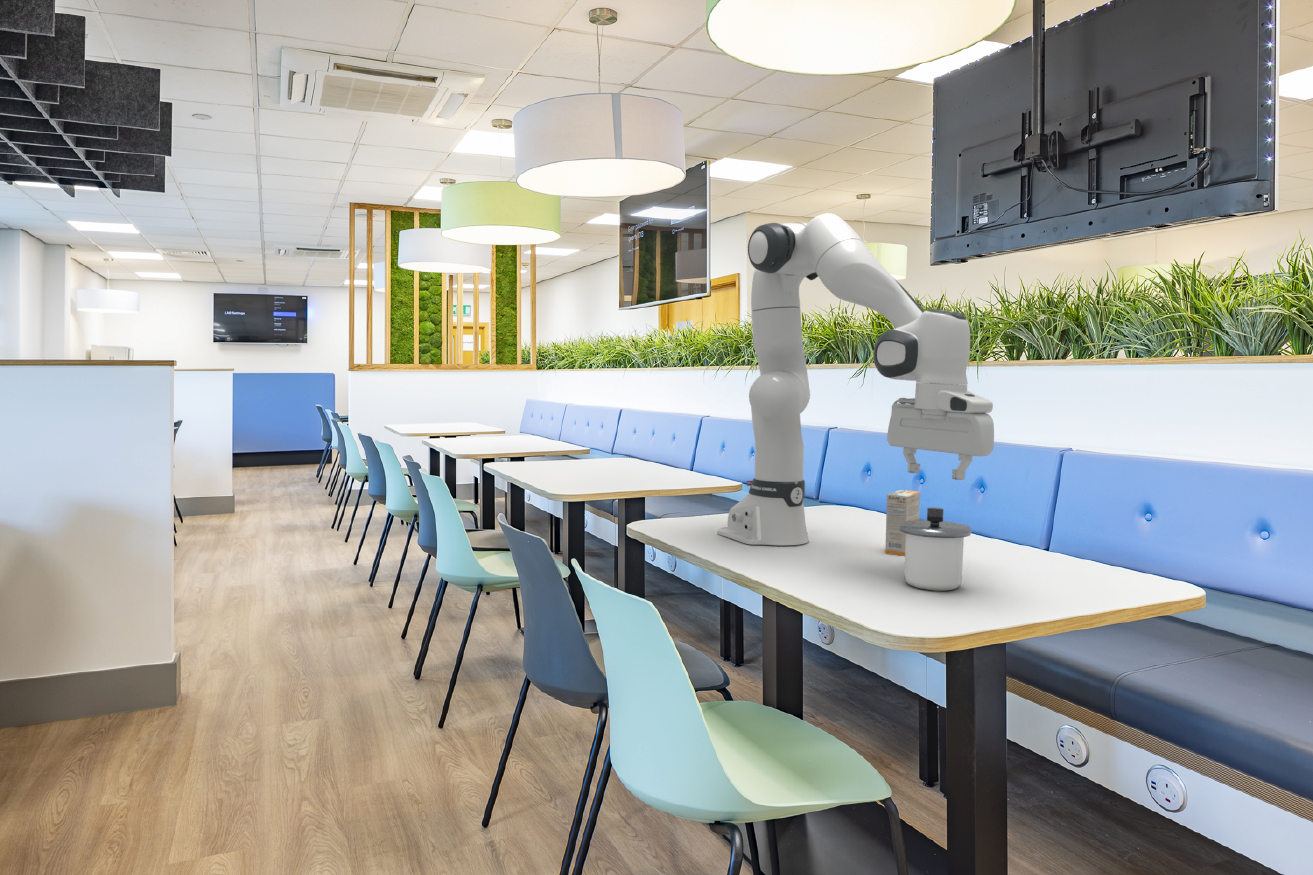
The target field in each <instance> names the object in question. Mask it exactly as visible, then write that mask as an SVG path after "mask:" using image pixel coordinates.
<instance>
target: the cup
mask: <svg viewBox="0 0 1313 875" xmlns="http://www.w3.org/2000/svg"><path fill="white" fill-rule="evenodd" d="M964 538H965V537H962V538H933V537H923V536H916V535H911V534H907V533H906V547H905V556H904V580H905V582H907V584H908V585H910V586H912V587H914V588H917V589H921V590H925V591H927V590H928V591H935V592H936V591H937V592H938V591H939V592H941V591H944V592H946V591H952V590H956V589H958V588H959V587H960V586H961V585H962V582H963V567H964V566H963V564H964V561H963V560H964V544H965V543H964V542H965V541H964Z"/></svg>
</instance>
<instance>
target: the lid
mask: <svg viewBox="0 0 1313 875" xmlns="http://www.w3.org/2000/svg"><path fill="white" fill-rule="evenodd" d="M926 512H927V513H926V519H922V520H921V519H919V520H913V521H904V522H901V523H900V524H899V530H900V531H901V532H904V533H907V534H911V535H916V536H923V537H933V538H962V537H964V538H967V537H970V536H971V534H972V527H970V526H969V525H965V524H962V523H957V522H951V521H944V508H941V507H927V509H926Z"/></svg>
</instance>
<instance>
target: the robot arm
mask: <svg viewBox="0 0 1313 875" xmlns="http://www.w3.org/2000/svg"><path fill="white" fill-rule="evenodd" d="M747 255H748V259H749V262H750V264H751V266H752V267H753V268H754V269H755V270H754V272H753V277H752V281H751V282H752V284H751V293H750V294H751V296H750V297H751V298H750V308H751V324H752V325H751V326H752V342H753V343H752V345H753V348H754V351H755V354H756V359H757V363H758V364H757V365H758V368H759V374H760V376H758V377H757V378H756V379H755V380H754V381H753V383H752V385H751V386H750V388H749V393H748V400H749V404H750V409H751V421H752V430H753V436H754V448H755V449H754V478H752V480H746V485H745V486H746V487H749V489H748V494H747V495H746V496H745V497H744V498H742V499H740V501H738V502H737V503H736V504H735V505H733V506H732V507H730V510H728V516H727V522H726V523H727V524H726V525H727V526H724V527H720V528H718V529H717V532H716V534H717V535H720V536H724V537H726V538H729V539H732V540H734V541H737V542H741V543H743V544H745V545H755V546H756V545H762V546H763V545H767V546H797V545H798V546H799V545H802V544H806V543H808V542H809V541H810V539H809V536H808V532H807V531H808V530H807V526H806V525H807V524H806V514H805V504H804V497H805V495H806V491H805V490H806V483H805V479H804V455H805V452H804V451H805V449H804V448H805V446H804V445H805V444H804V440H803V435H802V426H801V425H802V424H801V414H802V413H803V412H804V411H805V409H806V408H807V407H808V405H809V402H810V399H811V391H810V390H811V389H810V384H809V375H808V368H807V363H806V356H805V351H804V344H803V332H802V314H801V313H802V312H801V301H800V299H801V298H800V285H801V283H802V282H803V280H804V279H805V278H807V279H808V280H809V281H813V280H816V279H817V278H819V279H820V281H821V283H822V284H823V286H824V287H825V288H826V290H828V291H829V292H830V293H831V294H832V295H833V296H835V297H836V298H837V299H839V300H842V301H845V302H849V303H851V304H855V305H859V306H861V307H865V308H868V309H869V310H872V311H875V312H877V313H879V314H880V315H882V316H883V317H884V318H886V319H887V320H888V321H889V322H890V323H891V324H892V325H893V327H894V328H893V329H889V330H886V331H884V332H883V333H882V334H881V335H880V336H879V337H878V338H877V340H876V342H875V345H874V349H873V355H872V356H873V363H874V365H875V368H876V370H877V372H878V373H879V374H880V375H881V376H882V377H885V378H888V379H891V380H897V381H913V382H914V381H915V394H914V398H907V397H899V398H898V399H896V400H895V401H894V402H893V403H892V405H891V411H890V419H889V422H888V429H887V433H886V434H887V436H886V441H887V442H888V444H889V446H890V447H899V448H903V450H902V451H903V453H902V454H903V457H904V458H905V460H906V463H907V473H909V474H920V472H921V470H920V468H921V463H917V460H916V456H915V455H916V454H917V450H923V451H929V452H930V451H931V452H938V453H948V454H954V455H955V454H956V455H958V461H960V463H959V464H958V466H957V467H956V468H952V470H951V471H952V472H951V473H952V475H951V479H952V480H956V481H963V480H965V479H966V478H965V477H966V470H967V469H968V468H969V466H970V465H971V463H972V462H973V457H988V456H989V455H990V454H991V453H993V450H994V446H995V445H994V444H995V426H994V423H995V422H994V420H993V418H992V416H991V415H990V413H991V412H992V411H993V407H994V406H993V405H994V404H993V401H992V400H989V399H988V398H985V397H983V396H980V395H978V394H975V393H973V392H972V391H969V390H968V386H969V385H968V384H969V383H968V378H967V377H968V376H967V368H968V366H969V365H968V364H969V362H970V354H971V353H970V352H971V329H970V323H969V321H968V318H967V316H965V315H964V314H963V313H960V312H957V311H953V310H952V311H951V310H944V309H937V308H930V309H926V310H924V309H923V308H922V307H921V305H919V303H918V302H917V301H916V300H915V298H913V296H912V295H911V294H910V293H909V292H908V291H907V290H906V289H905V287H903V286H902V284H900V283H899V282H898V281H897V279H896V278H895V277H894V276H892V275H891V273H890V272H889V271H888V270H887V269H886V268H885V267H884V266H883V265H882V264H881V262H880V261H879V260H878V259H877V258H876V257H875V256H874V254H873V253H872V252H871V251H870V249H869V248H868V246H867V245H866V244H865V242H864V241H863V239H862V238H861V237H860V235H859V234H858V233H857V232H856V231H855V230H854V229H853V228H852V227H851V225H849V224H848V222H846V221H845V220H844V219H843V218H841V216H839V215H837V214H834V213H831V212H827V213H825V212H824V213H821V214H819V215H816V216H814V217H813V218H812V219H811V220H810V221H809V222H799V221H797V222H786V223H784V222H783V223H778V222H770V223H765V224H761V225H758V226H757V227H756V228H755V229H754V230H753V231H752V233H751V234H750V237H749V239H748V244H747ZM747 483H748V484H747Z"/></svg>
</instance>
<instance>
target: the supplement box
mask: <svg viewBox="0 0 1313 875" xmlns="http://www.w3.org/2000/svg"><path fill="white" fill-rule="evenodd" d="M920 498H921V492H920V491H914V490H906V489H900V490H896V491H893V492H890V493H887V494H886V514H885V515H886V516H885V517H886V519H885V520H886V521H885V522H886V523H885V554H888V555H896V556H902V557H903V556H904V557H905V547H906V533H904V532H901V531H900V530H899V524H900V523H901V522H904V521H913V520H920V500H921V499H920Z"/></svg>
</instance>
